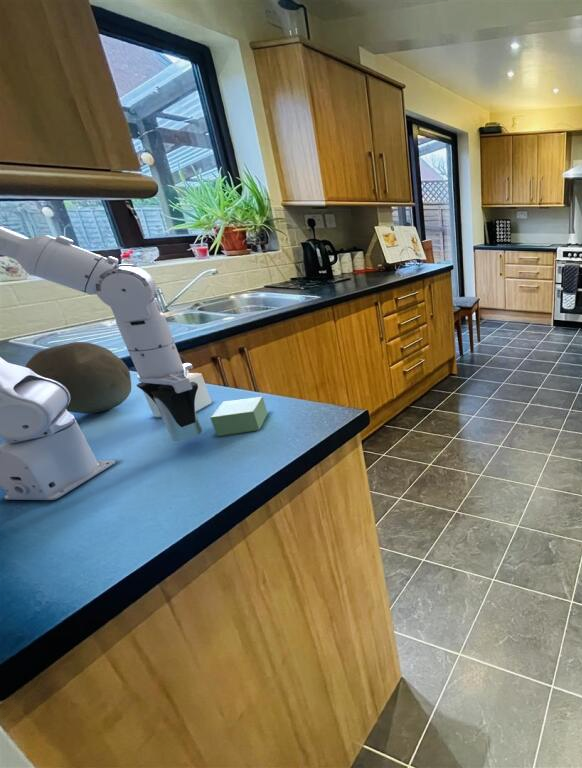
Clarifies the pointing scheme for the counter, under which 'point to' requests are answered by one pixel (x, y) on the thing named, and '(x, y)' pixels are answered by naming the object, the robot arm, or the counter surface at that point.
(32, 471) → the robot arm
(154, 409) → the medicine bottle
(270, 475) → the counter surface
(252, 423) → the block
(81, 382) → the cantaloupe
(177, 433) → the flask
